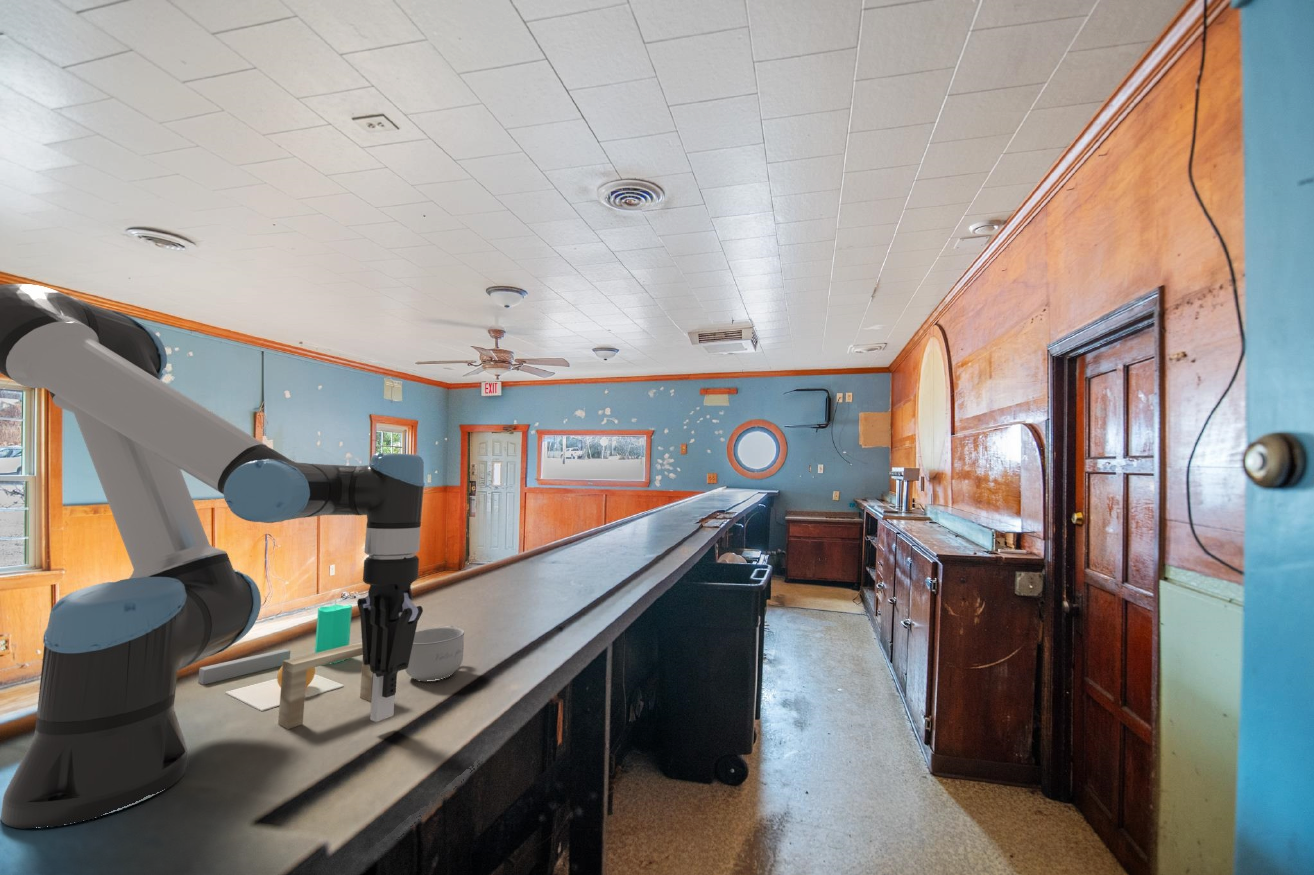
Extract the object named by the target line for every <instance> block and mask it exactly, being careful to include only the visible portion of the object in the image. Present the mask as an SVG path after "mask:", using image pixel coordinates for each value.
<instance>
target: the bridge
mask: <svg viewBox="0 0 1314 875" xmlns="http://www.w3.org/2000/svg"><path fill="white" fill-rule="evenodd" d="M359 656H363V649H362V641H361V642H357V643H353V644H349V645H347V646H343V647H339V648H335V649H331V650H326V651H322V652H318V653H315V652H314V653H309V654H306V655H301V656H298V657H293V658H290V659H288V660H284V661H283V665H282V666H283V669H282V681H281V694H280V706H278V708H279V709H278V721H277V725H280V726H281V727H283V728H285V729H287V730H289V729H292V728H296V727H299V726H301V725H303V724H304V714H305V713H304V712H305V700H306V698H305V687H306V674H307V669H310V668H313V667H315V668H317V667H320V666H324V665H330V664H329V663H333V662H337V661H341V660H344V659H347V660H348V659H353V658H355V657H356V658H357V657H359ZM370 656H371V654H370ZM361 662H362V664H361V675H360V676H361V677H360V690H359V691H360V692H359V698H361V699H363V700H366V701H368V702H371V700H372V675H373V672H371V670H370V666H369V665H364V663H363V659H362V661H361Z"/></svg>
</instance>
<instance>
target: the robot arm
mask: <svg viewBox="0 0 1314 875" xmlns="http://www.w3.org/2000/svg"><path fill="white" fill-rule="evenodd" d="M167 356H168V355H167V351H166V348H165V345H164V343H163V342H162V340H161V337H159V336H158V335H157V334H156V333H155V332H154V331H153V330H152V329H151V328H150V327H148V326H147V325H145V324H143V323H141V322H139V321H137V320H136V319H134V318H132V317H131V316H129V315H126V314H124V313H121V312H119V311H114V310H110V309H105V308H103V307H99V306H97V305H94V304H92V303H89V302H87V301H84V300H81V299H78V298H75V297H73V296H71V295H69V294H66V293H63V292H61V291H58V290H56V289H53V288H49V287H45V286H41V285H35V284H29V283H7V284H0V374H2V375H4V376H5V377H6V378H9V379H10V380H11V381H13V382H15V383H17V384H19V385H20V386H23V387H27V388H32V389H45V390H46V391H49V395H50V397H51V400H52V402H53V405H55V406H56V407H58V408H60V409H62V410H65V411H68V412H71V413H72V414H73V415H74V418H75V420H76V422H77V425H78V428H79V431H80V432H81V433H80V434H81V435H82V438H83V440H84V443H85V447H86V448H87V451H88V453H89V456H90V459H91V461H92V464H93V466H94V469H95V472H96V475H97V477H98V479H99V482H100V485H101V487H102V490H103V494H104V495H105V499H106V500H107V503H108V506H109V510H110V511H111V514H112V517H113V518H114V521H115V524H116V526H117V529H118V532H119V535H120V537H121V539H122V540H121V541H122V542H123V544H124V549H126V553H127V555H128V557H129V560H130V563H131V565H132V568H133V571H132V573H131V575H130V576H129V577H128V578H125V579H120V580H117V581H108V582H102V583H98V584H97V583H96V584H94V585H89V586H87V587H84V588H80V589H78V590H75V591H73V592H71V593H68V594H66V595H65V596H62V598H60V599H59V600H58V601H57V602H56V603H55V604H54V605H53V607H52V608H51V610H50V613H49V618H48V622H47V628H46V629H45V631H44V633H43V638H42V640H43V642H42V643H43V645H44V646H43V654H42V663H41V664H42V665H41V674H40V682H39V693H38V701H37V711H36V720H35V730H34V736H33V738H32V740H31V742H30V744H29V746H28V747H27V750H26V752H25V753H24V755H23V757H22V759H21V761H20V763H19V765H18V767H17V768H16V770H15V772H14V775H13V777H12V778H11V780H10V781H9V784H8V785H7V787H6V790H5V792H4V794H3V798H2V804H1V806H2V807H1V812H0V820H1V822H2V823H3V824H4V825H6V826H8V827H11V826H12V827H11V828H16V829H23V828H36V827H37V828H38V827H41V828H40V829H43V828H42V827H47V826H48V827H50V828H52V827H51V826H58V827H62V826H61V825H64V824H70V823H74V822H79V823H82V822H81V821H83V820H88V821H91V820H90V819H92V820H95V819H94V818H95V817H99V816H101V815H103V814H105V813H109V812H111V811H113V810H117V809H118V808H122V807H124V806H127V805H129V804H132V803H135V802H136V801H139V800H141V799H143V798H144V797H146V796H148V795H152V794H156V793H157V792H160V791H162V790H164V789H166V788H168V789H170V787H173V786H174V785H175V784H176V783H178V781H180V780H181V779H182V777H183V776H184V775H185V773H186V770H187V765H188V755H189V754H188V752H189V751H188V747H187V746H188V745H187V744H186V740H185V738H184V735H183V732H182V729H181V725H180V723H179V720H178V717H177V714H176V711H175V710H176V709H175V701H176V700H175V699H176V690H177V688H176V687H177V680H178V671H180V670H182V669H184V668H187V667H190V666H191V665H194V664H196V663H198V662H200V661H202V660H204V659H206V658H209V657H212V656H215V655H217V654H219V653H222V652H224V651H226V650H228V649H229V648H230V647H231V646H232V645H234V644H235V643H237V642H239V641H240V640H242V639H243V638H244V637H245V636H246V635H248V634H249V632H250V630H252V629H253V627H254V625H255V623H256V621H257V620H258V617H259V614H260V611H261V606H262V596H261V592H260V589H259V586H258V585H257V583H256V582H255V580H254V579H253V578H252V577H251V576H249V575H248V574H244V573H243V572H241V571H240V570H237V569H234V568H233V564H232V562H231V560H230V558H229V555H228V552H227V551H226V550H223V549H220V548H218V547H214V546H212V545H211V544H210V542H209V540H208V537H207V535H206V532H205V530H204V526H203V524H202V521H201V519H200V516H199V513H198V512H197V509H196V506H195V504H194V501H193V498H192V495H191V492H190V490H189V488H188V485H187V483H186V482H187V481H185V477H184V475H183V473H182V471H184V472H185V473H186V474H188V475H190V476H192V477H193V478H195V479H197V480H198V481H200V482H202V483H204V484H205V485H207V486H209V487H211V488H212V489H214V490H215V491H216V492H219V493H220V494H222V495H223V496H224V501H225V503H226V504H227V507H228V508H229V509H230V511H231V513H232V514H234V515H235V516H236V517H238V518H240V519H242V520H245V521H246V522H252V523H253V522H254V523H263V524H265V523H267V524H272V523H273V524H274V523H281V522H284V521H290V520H296V519H303V518H304V519H305V518H312V517H313V518H314V517H322V516H366V529H365V539H364V541H365V542H364V551H363V552H364V554H366V555H367V556H366V558H365V559H364V560H363V570H362V571H363V572H362V574H363V575H362V581H363V583H364V584H366V585H369V589H368V591H367V593H368V594H367V595H366V596H365V597H362V598H358V599H357V600H356V602H357V603H356V604H357V607H358V612H359V616H360V630H361V632H360V633H361V642H362V649H363V655H362V660H363V663H364V665H369V666H370V670H371V672H373V675H372V700H371V701H370V717H369V719H370V721H372V722H375V723H378V722H380V721H383V720H386V719H388V718H390V717H393V716H394V714H395V713H394V710H395V697H396V693H397V681H398V680H397V679H398V673H399V672H400V671H403V670H405V669H407V668H408V664H409V660H410V655H411V650H412V646H413V641H414V636H415V632H417V626H418V622H419V620H420V618H421V616H422V615H423V612H424V610H423V606H422V605H418V606H415V604H414V603H413V601H412V600H413V592H412V584H413V583H414V582H416V581H417V580H418V578H419V570H420V568H419V567H420V558H419V557H418V556H417V555H416V554H418V553H419V552H420V542H421V526H422V513H423V512H422V511H423V499H424V489H425V487H426V486H425V482H424V480H425V477H424V474H425V472H424V471H425V469H424V468H425V466H424V464H425V463H424V459H423V458H422V457H421V456H419V455H416V454H411V453H398V452H397V453H393V452H389V453H387V452H386V453H383V452H380V453H379V452H378V453H377V452H376V453H374V454H372V456H371V459H370V462H369V464H368V465H345V464H344V465H342V464H341V465H340V464H321V463H308V462H296V461H294V460H292V459H290V458H288V457H286V456H285V455H283V454H282V453H280V452H278V451H276V450H275V449H273V448H271V447H269V446H268V445H267V444H265V443H264V442H262V441H261V440H258V439H257V438H255V437H254V436H253V435H250V434H249V433H247V432H245V431H244V430H242V428H241V429H240V428H239V427H237V426H236V425H234V424H232V423H231V422H229V421H228V420H226V419H225V418H222V417H221V416H219V415H218V414H217V413H214V412H213V411H211V410H209V409H208V408H206V407H205V406H203V405H201V404H200V403H198V402H196V401H195V400H193V399H191V398H190V397H188V396H186V395H185V394H184V393H182V392H180V391H179V390H177V389H175V388H174V387H172V386H170V385H169V384H167V383H165V382H163V381H162V380H161V379H162V378H163V376H164V373H163V370H164V369H166V368H167V364H168V357H167ZM370 654H371V656H370ZM166 790H167V789H166ZM99 818H100V817H99ZM70 825H71V824H70ZM64 826H65V825H64Z"/></svg>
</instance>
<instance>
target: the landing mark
mask: <svg viewBox="0 0 1314 875" xmlns="http://www.w3.org/2000/svg"><path fill="white" fill-rule="evenodd" d="M344 687H345V684H342V683H339V682H337V681H334V680H331V679H328V678H326V677H325V676H322V675H318V674H316V673H315V675H314V678H313V680H312V681H311V683H310V684H309V685H308V686H307V687H305V699H308V698H310V697H314V696H317V695H320V694H325V693H328V692H330V691H333V690H336V689H340V688H344ZM224 694H225V695H228V696H230V697H232V698H234V699H236V700H238V701H240V702H242V703H244V704H246V705H248V706H249V707H252V708H254V709H256V710H258V711H260V712H264V711H267V710H271V709H274V708H277V707H279V706H280V694H281V687H280V686H279V684H278V681H277V678H274V679H273V678H272V679H269V680H266V681H265V680H264V681H262V682H258V683H255V684H251V685H247V686H243V687H239V688H236V689H235V688H234V689H232V690H228V691H225V692H224Z"/></svg>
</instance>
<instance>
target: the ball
mask: <svg viewBox="0 0 1314 875" xmlns="http://www.w3.org/2000/svg"><path fill="white" fill-rule="evenodd" d="M282 669H283V665H282V666H280V668H279V670H278V673H277V678H276V679H277V681H278V684H279V686H280V687H281V681H282ZM315 674H316V667H313V668H310V669H307V674H306V687H307V686H308V685H309V684H310V683H311V681H312V680H313V678H314V675H315Z"/></svg>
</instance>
